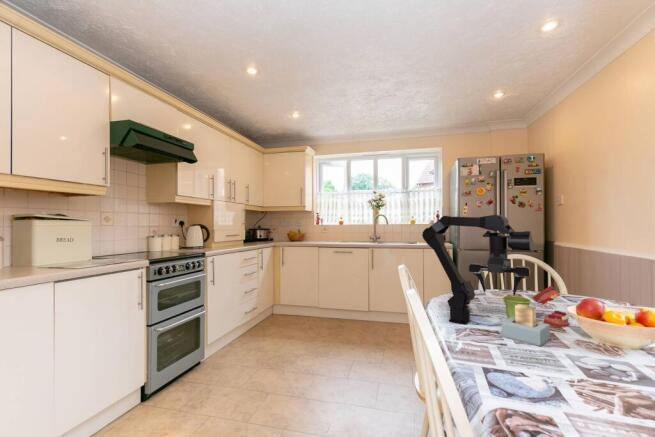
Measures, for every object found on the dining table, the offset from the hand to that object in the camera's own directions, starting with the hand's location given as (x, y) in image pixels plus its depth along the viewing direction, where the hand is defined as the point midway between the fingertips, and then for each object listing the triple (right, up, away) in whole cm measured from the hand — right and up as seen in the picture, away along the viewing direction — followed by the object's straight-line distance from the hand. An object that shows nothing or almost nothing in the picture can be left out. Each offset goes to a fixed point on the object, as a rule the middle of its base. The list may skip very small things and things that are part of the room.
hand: (499, 293), depth 108 cm
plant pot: (+12, -13, +9) cm, 20 cm away
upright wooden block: (+4, -12, -8) cm, 15 cm away
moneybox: (+4, -13, -8) cm, 16 cm away
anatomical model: (+25, -13, +7) cm, 29 cm away
